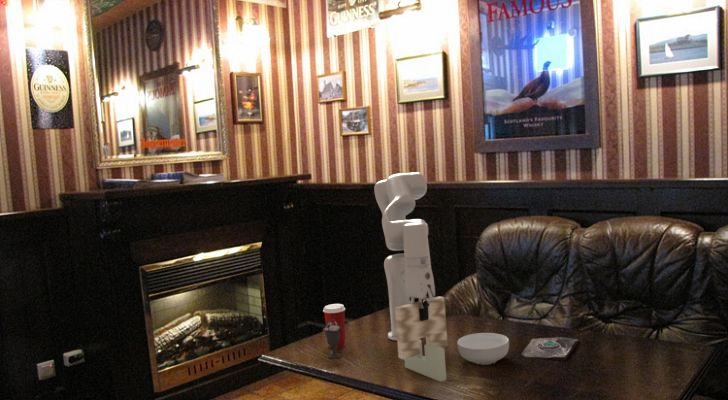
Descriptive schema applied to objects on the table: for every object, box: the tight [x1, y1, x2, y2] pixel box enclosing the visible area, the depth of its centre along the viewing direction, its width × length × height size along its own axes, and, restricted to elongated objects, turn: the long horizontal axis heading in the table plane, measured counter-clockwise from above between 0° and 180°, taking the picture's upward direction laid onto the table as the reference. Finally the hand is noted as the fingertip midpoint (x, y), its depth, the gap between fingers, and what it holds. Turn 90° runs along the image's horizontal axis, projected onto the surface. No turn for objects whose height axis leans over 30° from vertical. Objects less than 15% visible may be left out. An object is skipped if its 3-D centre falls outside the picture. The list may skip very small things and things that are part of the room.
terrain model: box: [521, 336, 580, 362], centre depth 223 cm, size 20×15×3 cm
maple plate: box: [395, 296, 448, 361], centre depth 208 cm, size 18×2×16 cm, turn 124°
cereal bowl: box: [456, 332, 510, 366], centre depth 216 cm, size 17×17×7 cm
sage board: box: [404, 339, 447, 382], centre depth 209 cm, size 2×18×10 cm, turn 34°
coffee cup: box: [322, 303, 346, 349], centre depth 244 cm, size 8×8×15 cm
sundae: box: [322, 316, 342, 360], centre depth 232 cm, size 7×7×15 cm
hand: (421, 318), depth 208 cm, fingers closed on maple plate, 2 cm apart
